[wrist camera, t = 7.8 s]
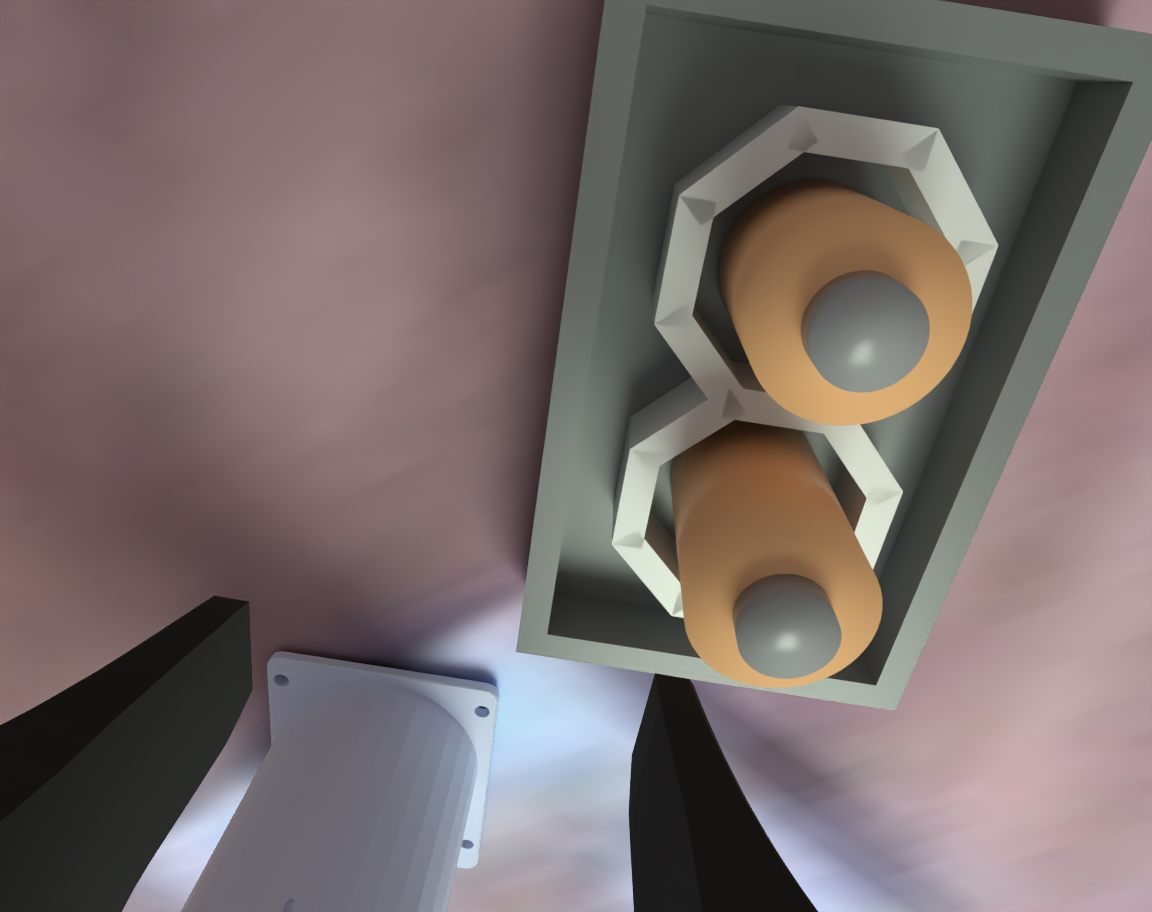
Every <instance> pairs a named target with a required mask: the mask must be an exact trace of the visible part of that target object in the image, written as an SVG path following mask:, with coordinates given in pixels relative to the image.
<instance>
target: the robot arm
mask: <svg viewBox="0 0 1152 912" xmlns="http://www.w3.org/2000/svg"><path fill="white" fill-rule="evenodd" d="M281 675H283V676H285V677H286V678H284V677H282V676H281ZM267 677H268V694H269V711H270V728H271V747H270V749H269V751H268V753H267V755H266V757H265V758H264V760H263V762H262V764H261V766H260V768H259V769H258V771H257V773H256V775H255V777H254V779H253V780H252V782H251V784H250V786H249V788H248V790H247V791H246V793H245V795H244V797H243V799H242V801H241V802H240V804H239V806H238V808H237V810H236V812H235V813H234V815H233V817H232V819H231V821H230V823H229V824H228V826H227V828H226V830H225V832H224V833H223V835H222V837H221V839H220V841H219V843H218V844H217V846H216V848H215V850H214V852H213V854H212V855H211V857H210V859H209V861H208V863H207V865H206V866H205V868H204V870H203V872H202V874H201V876H200V877H199V879H198V881H197V883H196V885H195V887H194V888H193V890H192V892H191V894H190V896H189V898H188V899H187V901H186V903H185V905H184V907H183V909H182V910H181V912H447V907H448V903H449V898H450V894H451V889H452V885H453V880H454V876H455V871H456V867H459V868H472V867H474V866H475V865H476V864H477V862H478V858H479V852H480V844H481V836H482V828H483V820H484V812H485V805H486V797H487V789H488V781H489V773H490V765H491V757H492V749H493V742H494V734H495V726H496V718H497V710H498V702H499V691H498V690H497V688H496V687H495V686H493V685H492V684H488V683H484V682H478V681H471V680H465V679H458V678H452V677H446V676H439V675H433V674H426V673H420V672H413V671H407V670H400V669H394V668H388V667H381V666H375V665H368V664H362V663H355V662H349V661H342V660H336V659H330V658H323V657H317V656H310V655H304V654H297V653H291V652H276V653H274V654H273V655H272V656H271V658H270V660H269V661H268V664H267ZM251 691H252V665H251V640H250V616H249V602H247V601H242V600H236V599H230V598H225V597H219V596H213V597H212V598H210V599H209V600H207V601H205V602H204V603H202V604H201V605H199V606H198V607H196V608H195V609H193V610H191V611H190V612H188V613H187V614H185V615H184V616H182V617H181V618H179V619H178V620H176V621H175V622H173V623H172V624H170V625H169V626H167V627H165V628H164V629H162V630H161V631H159V632H158V633H156V634H155V635H153V636H152V637H150V638H149V639H147V640H146V641H144V642H143V643H141V644H139V645H138V646H136V647H135V648H133V649H132V650H130V651H128V652H127V653H125V654H124V655H122V656H121V657H119V658H117V659H116V660H114V661H113V662H111V663H109V664H108V665H106V666H105V667H103V668H102V669H100V670H98V671H97V672H95V673H93V674H91V675H90V676H88V677H86V678H85V679H83V680H81V681H79V682H78V683H76V684H74V685H73V686H71V687H69V688H67V689H66V690H64V691H62V692H61V693H59V694H57V695H55V696H54V697H52V698H50V699H49V700H47V701H45V702H43V703H42V704H40V705H38V706H36V707H34V708H32V709H31V710H29V711H27V712H25V713H23V714H21V715H19V716H17V717H15V718H13V719H12V720H10V721H8V722H6V723H4V724H2V725H0V912H122V910H123V908H124V906H125V904H126V903H127V901H128V899H129V897H130V895H131V893H132V891H133V890H134V888H135V886H136V884H137V883H138V881H139V879H140V878H141V876H142V874H143V873H144V871H145V869H146V868H147V866H148V864H149V863H150V861H151V860H152V858H153V857H154V855H155V853H156V852H157V850H158V849H159V847H160V846H161V844H162V843H163V841H164V840H165V838H166V836H167V835H168V833H169V832H170V830H171V829H172V827H173V826H174V824H175V823H176V821H177V819H178V818H179V816H180V815H181V813H182V812H183V810H184V809H185V807H186V806H187V804H188V803H189V801H190V799H191V798H192V796H193V795H194V793H195V792H196V790H197V789H198V787H199V786H200V784H201V782H202V781H203V779H204V778H205V776H206V775H207V773H208V771H209V770H210V768H211V767H212V765H213V764H214V762H215V760H216V759H217V757H218V756H219V754H220V753H221V751H222V749H223V748H224V746H225V744H226V743H227V741H228V739H229V737H230V735H231V733H232V731H233V729H234V727H235V725H236V723H237V721H238V719H239V717H240V715H241V712H242V710H243V708H244V706H245V704H246V702H247V700H248V698H249V695H250V693H251ZM479 706H484V707H487V708H488V709H482V708H480V707H479ZM629 827H630V846H631V865H632V883H633V901H634V912H818V911H817V910H816V908H815V907H814V905H813V904H812V903H811V901H810V900H809V898H808V897H807V896H806V894H805V893H804V891H803V890H802V889H801V887H800V886H799V884H798V883H797V881H796V880H795V878H794V877H793V875H792V874H791V872H790V871H789V869H788V868H787V866H786V865H785V863H784V862H783V860H782V859H781V857H780V855H779V854H778V852H777V851H776V849H775V848H774V846H773V844H772V843H771V841H770V839H769V838H768V836H767V834H766V833H765V831H764V829H763V828H762V826H761V824H760V822H759V821H758V819H757V817H756V815H755V814H754V812H753V810H752V808H751V807H750V805H749V803H748V801H747V799H746V797H745V796H744V794H743V792H742V790H741V788H740V786H739V784H738V782H737V780H736V778H735V776H734V774H733V772H732V770H731V768H730V767H729V765H728V763H727V761H726V759H725V757H724V754H723V752H722V750H721V748H720V746H719V744H718V742H717V740H716V737H715V735H714V733H713V731H712V728H711V726H710V724H709V722H708V719H707V717H706V715H705V712H704V710H703V708H702V705H701V703H700V700H699V698H698V695H697V693H696V690H695V687H694V685H693V684H692V682H691V681H690V679H686V678H680V677H674V676H669V675H663V674H657V673H655V675H654V679H653V682H652V686H651V689H650V693H649V697H648V700H647V704H646V707H645V711H644V714H643V718H642V721H641V725H640V728H639V732H638V736H637V739H636V743H635V746H634V750H633V753H632V763H631V780H630V799H629Z"/></svg>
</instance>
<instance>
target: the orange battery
mask: <svg viewBox="0 0 1152 912" xmlns="http://www.w3.org/2000/svg"><path fill="white" fill-rule="evenodd" d="M670 485H671V495H672V505H673V515H674V525H675V535H676V545H677V555H678V565H679V576H680V586H681V596H682V606H683V616H684V624H685V630H686V633H687V636H688V639H689V641H690V643H691V645H692V647H693V648H694V650H695V651H696V652H697V654H698V655H699V656H700V657H701V658H702V659H703V660H704V662H705V663H706V664H708V665H709V666H710V667H711V668H713V669H714V670H715V671H717V672H719V673H720V674H722V675H724V676H726V677H728V678H730V679H732V680H735V681H738V682H741V683H744V684H748V685H752V686H757V687H766V688H786V687H796V686H801V685H806V684H810V683H813V682H816V681H819V680H822V679H824V678H827V677H829V676H831V675H833V674H835V673H837V672H839V671H840V670H842V669H843V668H845V667H846V666H848V665H849V664H851V663H852V662H853V661H854V660H855V659H856V658H858V657H859V656H860V654H861V653H862V652H863V651H864V650H865V649H866V648H867V646H868V645H869V644H870V642H871V641H872V639H873V637H874V635H875V633H876V631H877V629H878V626H879V623H880V620H881V615H882V609H883V607H882V593H881V588H880V585H879V582H878V580H877V577H876V575H875V573H874V571H873V569H872V567H871V565H870V563H869V561H868V559H867V557H866V555H865V553H864V551H863V549H862V547H861V545H860V543H859V541H858V539H857V537H856V535H855V533H854V531H853V529H852V527H851V525H850V523H849V521H848V519H847V517H846V515H845V513H844V511H843V509H842V507H841V505H840V503H839V501H838V499H837V497H836V495H835V493H834V491H833V489H832V487H831V485H830V483H829V481H828V479H827V477H826V475H825V473H824V471H823V469H822V467H821V465H820V463H819V461H818V459H817V457H816V455H815V453H814V451H813V449H812V447H811V446H810V444H809V442H808V440H807V439H806V438H805V437H804V435H803V434H802V433H801V432H800V431H799V430H797V429H791V428H784V427H778V426H772V425H765V424H759V423H753V422H746V421H740V420H734V421H732V422H730V423H729V424H727V425H725V426H724V427H722V428H721V429H719V430H717V431H716V432H714V433H712V434H711V435H709V436H708V437H706V438H704V439H703V440H701V441H699V442H698V443H696V444H694V445H693V446H691V447H690V448H688V449H686V450H685V451H683V452H681V453H680V454H678V455H677V456H675V457H674V460H673V464H672V467H671V474H670Z"/></svg>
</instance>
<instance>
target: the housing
mask: <svg viewBox="0 0 1152 912" xmlns="http://www.w3.org/2000/svg"><path fill="white" fill-rule="evenodd" d="M1151 140H1152V34H1149V33H1143V32H1137V31H1131V30H1124V29H1118V28H1112V27H1105V26H1099V25H1093V24H1086V23H1080V22H1074V21H1068V20H1061V19H1055V18H1049V17H1042V16H1036V15H1030V14H1023V13H1017V12H1011V11H1004V10H998V9H992V8H986V7H979V6H973V5H967V4H960V3H954V2H948V1H941V0H605V1H604V8H603V16H602V23H601V31H600V38H599V45H598V53H597V60H596V67H595V75H594V82H593V90H592V97H591V104H590V112H589V119H588V126H587V134H586V141H585V149H584V156H583V163H582V171H581V178H580V185H579V193H578V200H577V207H576V215H575V222H574V230H573V237H572V244H571V252H570V259H569V266H568V274H567V281H566V289H565V296H564V303H563V311H562V318H561V325H560V333H559V340H558V348H557V355H556V362H555V370H554V377H553V384H552V392H551V399H550V406H549V414H548V421H547V429H546V436H545V443H544V451H543V458H542V465H541V473H540V480H539V488H538V495H537V502H536V510H535V517H534V524H533V532H532V539H531V547H530V554H529V561H528V569H527V576H526V583H525V591H524V598H523V606H522V613H521V620H520V628H519V635H518V642H517V650H516V652H520V653H527V654H533V655H540V656H546V657H552V658H559V659H565V660H572V661H578V662H585V663H591V664H597V665H604V666H610V667H617V668H623V669H630V670H636V671H643V672H649V673H657V674H663V675H669V676H675V677H681V678H688V679H694V680H700V681H707V682H713V683H720V684H726V685H733V686H739V687H746V688H752V689H758V690H765V691H771V692H778V693H784V694H791V695H797V696H803V697H810V698H816V699H823V700H829V701H836V702H842V703H849V704H855V705H861V706H868V707H874V708H881V709H887V710H894V711H895V709H896V707H897V705H898V703H899V700H900V698H901V696H902V694H903V691H904V689H905V687H906V685H907V683H908V680H909V678H910V676H911V674H912V671H913V669H914V667H915V665H916V663H917V660H918V658H919V656H920V654H921V651H922V649H923V647H924V645H925V643H926V640H927V638H928V636H929V634H930V631H931V629H932V627H933V625H934V622H935V620H936V618H937V616H938V614H939V611H940V609H941V607H942V605H943V602H944V600H945V598H946V596H947V594H948V591H949V589H950V587H951V585H952V582H953V580H954V578H955V576H956V574H957V571H958V569H959V567H960V565H961V562H962V560H963V558H964V556H965V554H966V551H967V549H968V547H969V545H970V542H971V540H972V538H973V536H974V534H975V531H976V529H977V527H978V525H979V522H980V520H981V518H982V516H983V513H984V511H985V509H986V507H987V505H988V502H989V500H990V498H991V496H992V493H993V491H994V489H995V487H996V485H997V482H998V480H999V478H1000V476H1001V473H1002V471H1003V469H1004V467H1005V465H1006V462H1007V460H1008V458H1009V456H1010V453H1011V451H1012V449H1013V447H1014V445H1015V442H1016V440H1017V438H1018V436H1019V433H1020V431H1021V429H1022V427H1023V425H1024V422H1025V420H1026V418H1027V416H1028V413H1029V411H1030V409H1031V407H1032V404H1033V402H1034V400H1035V398H1036V396H1037V393H1038V391H1039V389H1040V387H1041V384H1042V382H1043V380H1044V378H1045V376H1046V373H1047V371H1048V369H1049V367H1050V364H1051V362H1052V360H1053V358H1054V356H1055V353H1056V351H1057V349H1058V347H1059V344H1060V342H1061V340H1062V338H1063V336H1064V333H1065V331H1066V329H1067V327H1068V324H1069V322H1070V320H1071V318H1072V316H1073V313H1074V311H1075V309H1076V307H1077V304H1078V302H1079V300H1080V298H1081V295H1082V293H1083V291H1084V289H1085V287H1086V284H1087V282H1088V280H1089V278H1090V275H1091V273H1092V271H1093V269H1094V267H1095V264H1096V262H1097V260H1098V258H1099V255H1100V253H1101V251H1102V249H1103V247H1104V244H1105V242H1106V240H1107V238H1108V235H1109V233H1110V231H1111V229H1112V227H1113V224H1114V222H1115V220H1116V218H1117V215H1118V213H1119V211H1120V209H1121V207H1122V204H1123V202H1124V200H1125V198H1126V195H1127V193H1128V191H1129V189H1130V186H1131V184H1132V182H1133V180H1134V178H1135V175H1136V173H1137V171H1138V169H1139V166H1140V164H1141V162H1142V160H1143V158H1144V155H1145V153H1146V151H1147V149H1148V146H1149V144H1150V142H1151ZM734 420H740V421H746V422H753V423H759V424H765V425H772V426H778V427H784V428H791V429H797V430H799V431H800V432H801V433H802V434H803V435H804V437H805V438H806V439H807V440H808V442H809V444H810V446H811V447H812V449H813V451H814V453H815V455H816V457H817V459H818V461H819V463H820V465H821V467H822V469H823V471H824V473H825V475H826V477H827V479H828V481H829V483H830V485H831V487H832V489H833V491H834V493H835V495H836V497H837V499H838V501H839V503H840V505H841V507H842V509H843V511H844V513H845V515H846V517H847V519H848V521H849V523H850V525H851V527H852V529H853V531H854V533H855V535H856V537H857V539H858V541H859V543H860V545H861V547H862V549H863V551H864V553H865V555H866V557H867V559H868V561H869V563H870V565H871V567H872V569H873V571H874V573H875V575H876V577H877V580H878V582H879V585H880V588H881V593H882V607H883V609H882V615H881V620H880V623H879V626H878V629H877V631H876V633H875V635H874V637H873V639H872V641H871V642H870V644H869V645H868V646H867V648H866V649H865V650H864V651H863V652H862V653H861V654H860V656H859V657H858V658H856V659H855V660H854V661H853V662H852V663H851V664H849V665H848V666H846V667H845V668H843V669H842V670H840V671H839V672H837V673H835V674H833V675H831V676H829V677H827V678H824V679H822V680H819V681H816V682H813V683H810V684H806V685H801V686H796V687H786V688H766V687H757V686H752V685H748V684H744V683H741V682H738V681H735V680H732V679H730V678H728V677H726V676H724V675H722V674H720V673H719V672H717V671H715V670H714V669H713V668H711V667H710V666H709V665H708V664H706V663H705V662H704V660H703V659H702V658H701V657H700V656H699V655H698V654H697V652H696V651H695V650H694V648H693V647H692V645H691V643H690V641H689V639H688V636H687V633H686V630H685V624H684V616H683V606H682V596H681V586H680V576H679V565H678V555H677V545H676V535H675V525H674V515H673V505H672V495H671V485H670V474H671V467H672V464H673V460H674V457H675V456H677V455H678V454H680V453H681V452H683V451H685V450H686V449H688V448H690V447H691V446H693V445H694V444H696V443H698V442H699V441H701V440H703V439H704V438H706V437H708V436H709V435H711V434H712V433H714V432H716V431H717V430H719V429H721V428H722V427H724V426H725V425H727V424H729V423H730V422H732V421H734Z"/></svg>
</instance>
